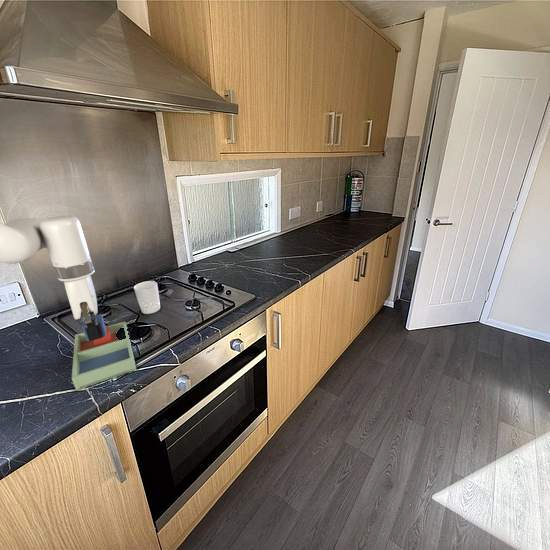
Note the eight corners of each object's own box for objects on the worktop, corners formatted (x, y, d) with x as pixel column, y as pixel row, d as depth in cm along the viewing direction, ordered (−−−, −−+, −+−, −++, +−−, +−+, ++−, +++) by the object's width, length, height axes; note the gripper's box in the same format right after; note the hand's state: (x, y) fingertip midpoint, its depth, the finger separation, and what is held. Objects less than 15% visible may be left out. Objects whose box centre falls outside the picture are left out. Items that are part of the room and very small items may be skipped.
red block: (96, 350, 86) (92, 338, 84) (96, 342, 90) (92, 330, 88) (113, 345, 88) (109, 333, 86) (112, 338, 92) (108, 326, 90)
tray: (76, 390, 73) (71, 378, 71) (78, 345, 91) (75, 334, 89) (136, 369, 79) (133, 358, 78) (127, 331, 97) (125, 321, 95)
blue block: (87, 341, 74) (81, 326, 72) (87, 332, 77) (82, 318, 76) (106, 335, 76) (102, 321, 74) (105, 327, 79) (101, 313, 78)
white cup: (161, 302, 114) (156, 279, 111) (162, 312, 108) (157, 287, 104) (140, 306, 112) (134, 283, 108) (139, 316, 105) (133, 291, 101)
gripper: (59, 262, 74) (80, 323, 82) (52, 285, 61) (78, 356, 68) (92, 256, 78) (110, 315, 85) (93, 277, 64) (114, 345, 71)
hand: (96, 333), depth 76 cm, fingers closed on blue block, 4 cm apart
